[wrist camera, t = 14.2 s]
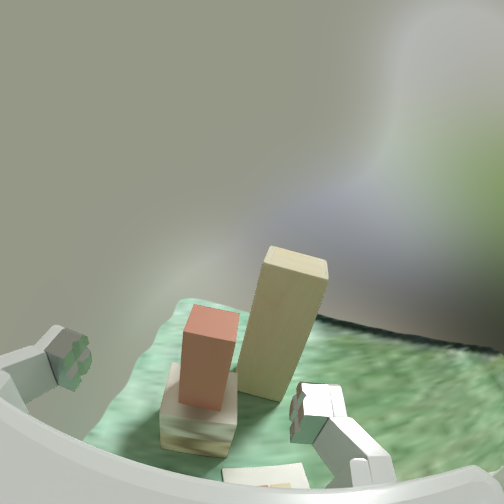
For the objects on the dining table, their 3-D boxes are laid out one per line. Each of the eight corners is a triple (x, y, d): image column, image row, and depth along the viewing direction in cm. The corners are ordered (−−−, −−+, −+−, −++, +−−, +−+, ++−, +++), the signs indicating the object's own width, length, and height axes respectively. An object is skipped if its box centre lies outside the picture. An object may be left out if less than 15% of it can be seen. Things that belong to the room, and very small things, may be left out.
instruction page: (300, 463, 30) (301, 462, 30) (317, 514, 23) (318, 513, 23) (221, 469, 28) (222, 468, 28) (230, 526, 21) (231, 525, 21)
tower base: (228, 410, 37) (237, 372, 34) (226, 458, 30) (237, 424, 27) (170, 401, 36) (171, 362, 33) (160, 448, 29) (159, 412, 26)
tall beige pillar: (287, 371, 47) (327, 257, 40) (282, 402, 40) (329, 280, 33) (241, 359, 48) (269, 242, 40) (230, 389, 41) (260, 262, 34)
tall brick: (224, 382, 32) (239, 313, 29) (220, 411, 28) (235, 342, 25) (186, 374, 32) (194, 304, 29) (178, 402, 28) (183, 331, 24)
